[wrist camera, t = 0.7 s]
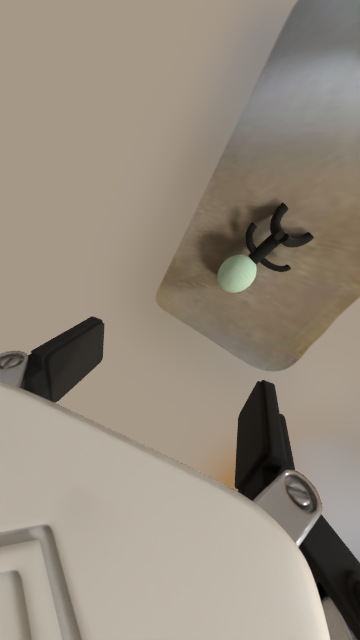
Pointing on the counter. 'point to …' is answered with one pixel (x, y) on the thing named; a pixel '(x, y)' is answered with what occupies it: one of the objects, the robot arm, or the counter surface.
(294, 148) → the counter surface
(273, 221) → the toy
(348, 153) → the counter surface
